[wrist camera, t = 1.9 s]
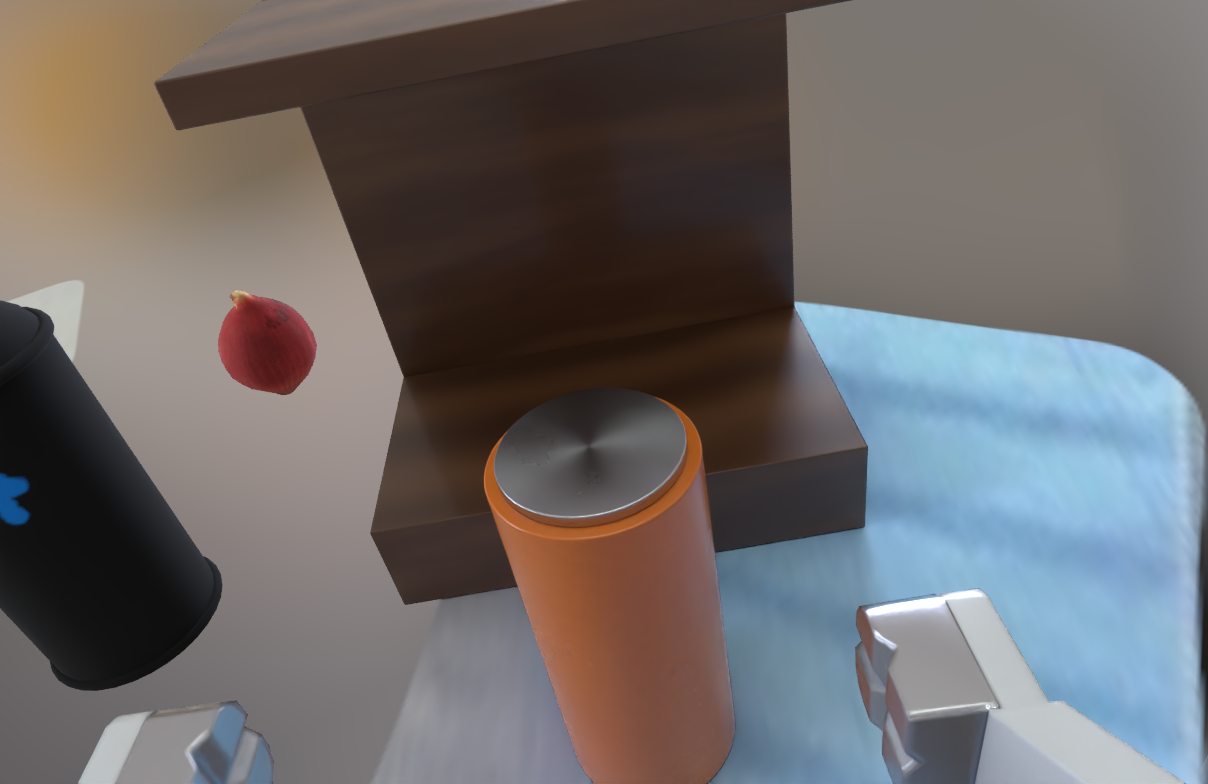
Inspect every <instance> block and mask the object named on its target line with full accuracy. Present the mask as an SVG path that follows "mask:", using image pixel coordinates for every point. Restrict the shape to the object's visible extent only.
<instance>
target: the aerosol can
mask: <svg viewBox="0 0 1208 784" xmlns="http://www.w3.org/2000/svg"><path fill="white" fill-rule="evenodd" d="M53 331H54V324H53V322H52V320H51V317H50V316H49V315H47V314H46V313H44V312H43V311H41V310H38V309H34V308H29V307H20V306H19V305H16V304H12V303H8V302H4V301H0V608H1V609H2V611H4V613H5V614H6V615H7V616H8V617H9V618H10V619H11V620H12V621H13V622H14V623H15V624H16V625H17V626H18V627H19V628H20V630H21V631H22V632H23V633H24V634H25V635H26V636H27V637H28V638H29V639H30V640H31V641H32V642H33V643H34V644H35V645H36V647H38V649H39V650H41V652H42V653H43V654H44V655H45V656H46V657H47V658H48V659H49V660H50V664H51V668H52V671H53V673H54V674H55V676H56V677H57V678H58V680H59V681H61V682H62V683H64V684H65V685H67V686H69V687H72V688H75V689H79V690H90V691H92V690H93V691H96V690H97V691H98V690H104V689H109V688H115V687H118V686H121V685H124V684H127V683H130V682H133V681H136V680H138V679H140V678H142V677H144V676H146V675H148V674H150V673H152V672H154V671H155V670H157V669H159V668H160V667H162V666H163V665H165V664H167V663H168V662H170V661H171V660H172V659H173V658H175V657H176V656H177V655H179V654H180V653H181V652H182V651H184V650H185V649H186V648H187V647H188V646H189V645H190V644H191V643H192V642H193V641H194V640H195V639H196V638H197V637H198V636H199V634H200V633H201V632H202V630H203V629H204V628H205V627H206V626H207V624H208V623H209V621H210V619H211V618H212V616H213V614H214V612H215V611H216V609H217V606H218V603H219V601H220V598H221V592H222V580H221V574H220V572H219V570H218V568H217V566H216V565H215V564H214V563H213V562H212V561H210V560H209V559H208V558H206V557H204V556H202V554H201V553H200V551H199V550H198V549H197V547H196V545H195V544H194V543H193V541H192V540H191V538H190V537H189V535H188V534H187V532H186V531H185V529H184V528H183V526H182V525H181V523H180V522H179V520H178V519H177V517H176V516H175V514H174V513H173V511H172V510H171V508H170V507H169V505H168V504H167V502H166V501H165V499H164V498H163V496H162V495H161V494H160V492H159V491H158V489H157V488H156V486H155V485H154V483H153V482H152V480H151V479H150V477H149V476H148V474H147V473H146V471H145V470H144V468H143V467H142V465H141V464H140V462H139V461H138V459H137V458H136V456H135V455H134V454H133V452H132V451H131V449H130V448H129V446H128V445H127V443H126V442H125V440H124V439H123V437H122V436H121V434H120V433H119V431H118V430H117V429H116V427H115V426H114V424H113V423H112V421H111V419H110V418H109V416H108V415H107V413H106V412H105V411H104V409H103V408H102V406H101V405H100V403H99V402H98V400H97V399H96V397H95V396H94V394H93V393H92V391H91V390H90V388H89V387H88V385H87V384H86V382H85V381H84V379H83V378H82V376H81V375H80V373H79V372H78V371H77V369H76V368H75V366H74V365H73V363H72V362H71V360H70V359H69V357H68V356H67V354H66V353H65V351H64V350H63V348H62V347H61V345H60V344H59V342H58V341H57V339H56V338H55V336H54V335H53Z"/></svg>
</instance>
